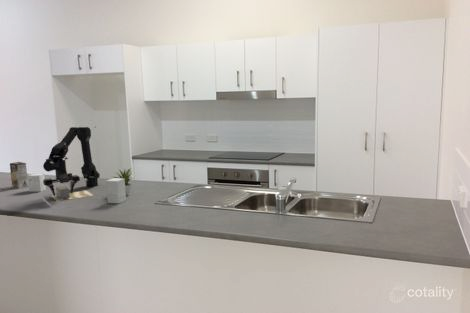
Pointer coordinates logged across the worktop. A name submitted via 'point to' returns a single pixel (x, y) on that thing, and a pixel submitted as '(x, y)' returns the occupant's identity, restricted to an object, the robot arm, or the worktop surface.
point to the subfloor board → (74, 195)
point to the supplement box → (116, 190)
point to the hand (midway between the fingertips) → (62, 194)
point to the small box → (36, 182)
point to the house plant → (126, 180)
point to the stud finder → (62, 192)
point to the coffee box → (18, 175)
